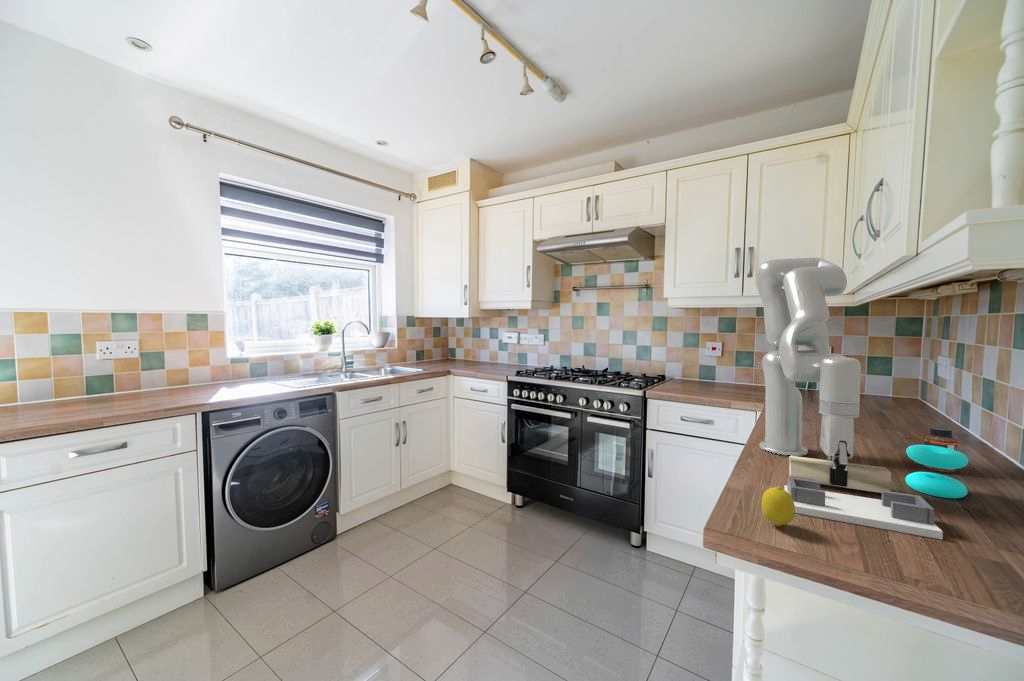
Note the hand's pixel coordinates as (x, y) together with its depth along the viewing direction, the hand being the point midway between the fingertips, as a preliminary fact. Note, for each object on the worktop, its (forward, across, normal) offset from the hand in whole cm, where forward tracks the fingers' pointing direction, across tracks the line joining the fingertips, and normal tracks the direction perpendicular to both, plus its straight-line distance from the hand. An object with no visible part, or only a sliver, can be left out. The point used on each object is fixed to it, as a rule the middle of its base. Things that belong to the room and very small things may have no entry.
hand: (836, 481), depth 96 cm
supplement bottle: (+2, -26, +27) cm, 38 cm away
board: (+1, +15, 0) cm, 15 cm away
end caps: (0, +15, 0) cm, 15 cm away
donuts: (+2, -7, +20) cm, 21 cm away
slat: (+1, 0, 0) cm, 1 cm away
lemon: (+1, +29, -14) cm, 32 cm away
